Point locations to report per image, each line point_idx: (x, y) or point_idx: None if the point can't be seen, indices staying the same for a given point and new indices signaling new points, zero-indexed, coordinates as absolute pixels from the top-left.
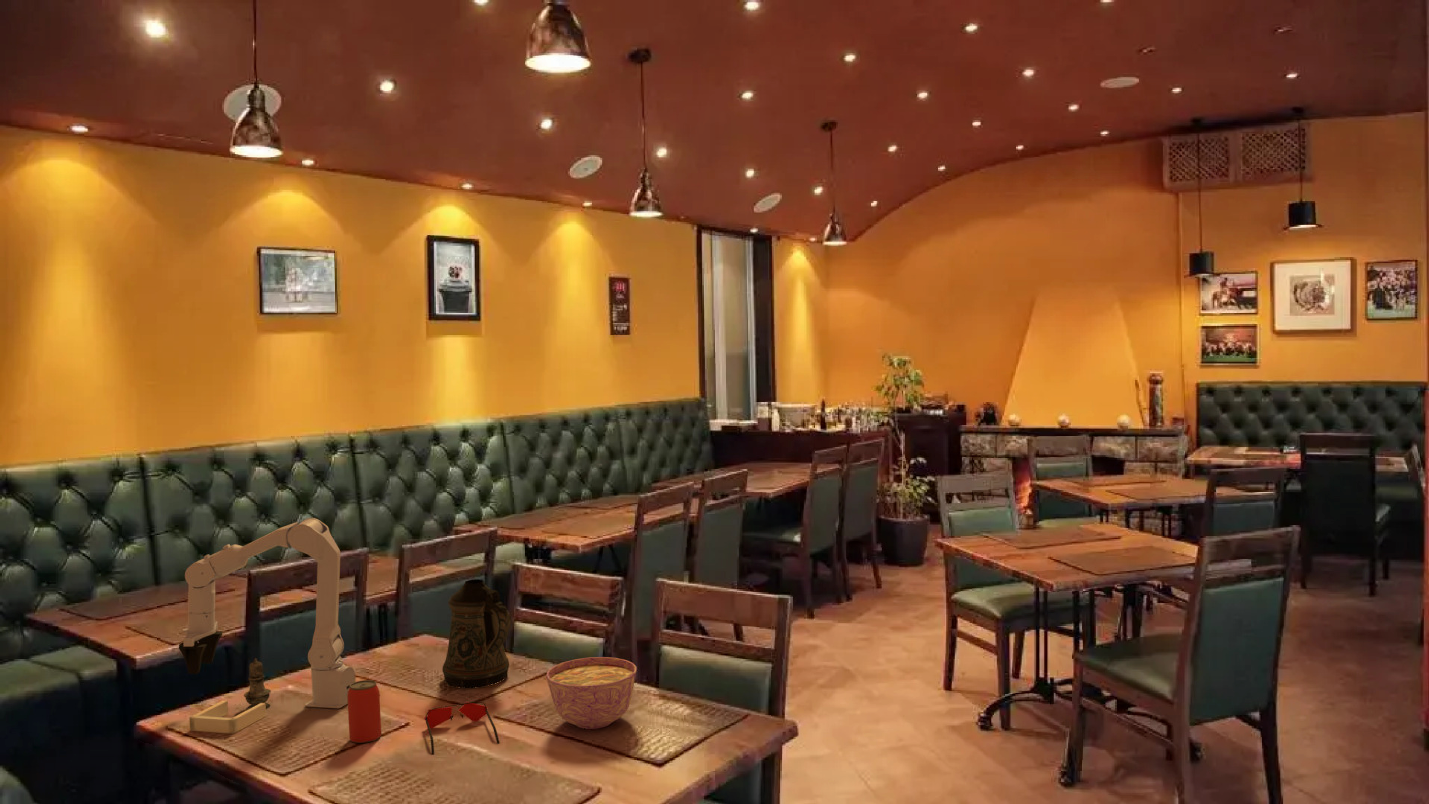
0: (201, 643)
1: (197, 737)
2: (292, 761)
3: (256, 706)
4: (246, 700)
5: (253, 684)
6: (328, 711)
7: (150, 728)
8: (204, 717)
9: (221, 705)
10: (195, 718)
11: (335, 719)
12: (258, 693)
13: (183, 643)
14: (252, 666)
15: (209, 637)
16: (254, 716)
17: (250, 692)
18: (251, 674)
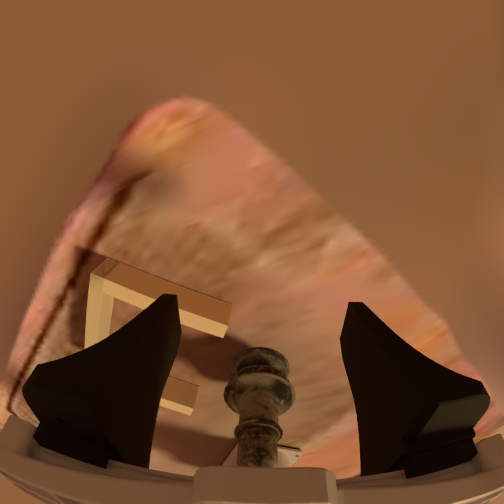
0: (387, 383)
1: (72, 289)
2: (34, 420)
3: (168, 404)
4: (242, 370)
5: (239, 418)
6: (210, 460)
7: (134, 129)
8: (91, 312)
9: (195, 326)
10: (89, 289)
11: (171, 465)
12: (236, 407)
13: (71, 412)
14: (237, 463)
15: (379, 454)
16: None
17: (240, 395)
18: (240, 440)
